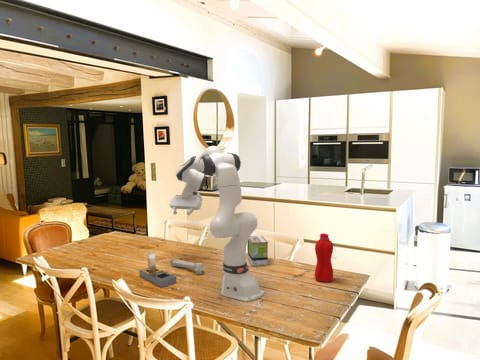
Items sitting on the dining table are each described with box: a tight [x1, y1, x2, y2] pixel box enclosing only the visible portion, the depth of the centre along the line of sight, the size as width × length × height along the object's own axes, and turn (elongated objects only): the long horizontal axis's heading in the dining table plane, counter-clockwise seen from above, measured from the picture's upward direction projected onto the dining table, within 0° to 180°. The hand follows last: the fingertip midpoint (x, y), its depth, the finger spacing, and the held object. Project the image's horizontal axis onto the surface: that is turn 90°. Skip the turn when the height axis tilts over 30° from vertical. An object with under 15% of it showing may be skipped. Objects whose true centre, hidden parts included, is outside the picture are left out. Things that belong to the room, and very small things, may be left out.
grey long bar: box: [171, 259, 206, 276], centre depth 213 cm, size 5×7×25 cm
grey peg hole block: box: [138, 266, 177, 288], centre depth 199 cm, size 23×9×4 cm, turn 44°
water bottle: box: [314, 232, 337, 283], centre depth 193 cm, size 9×11×25 cm
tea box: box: [247, 235, 269, 267], centre depth 224 cm, size 15×10×15 cm, turn 9°
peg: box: [147, 251, 157, 273], centre depth 203 cm, size 4×4×14 cm
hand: (181, 214), depth 218 cm, fingers open, 8 cm apart
